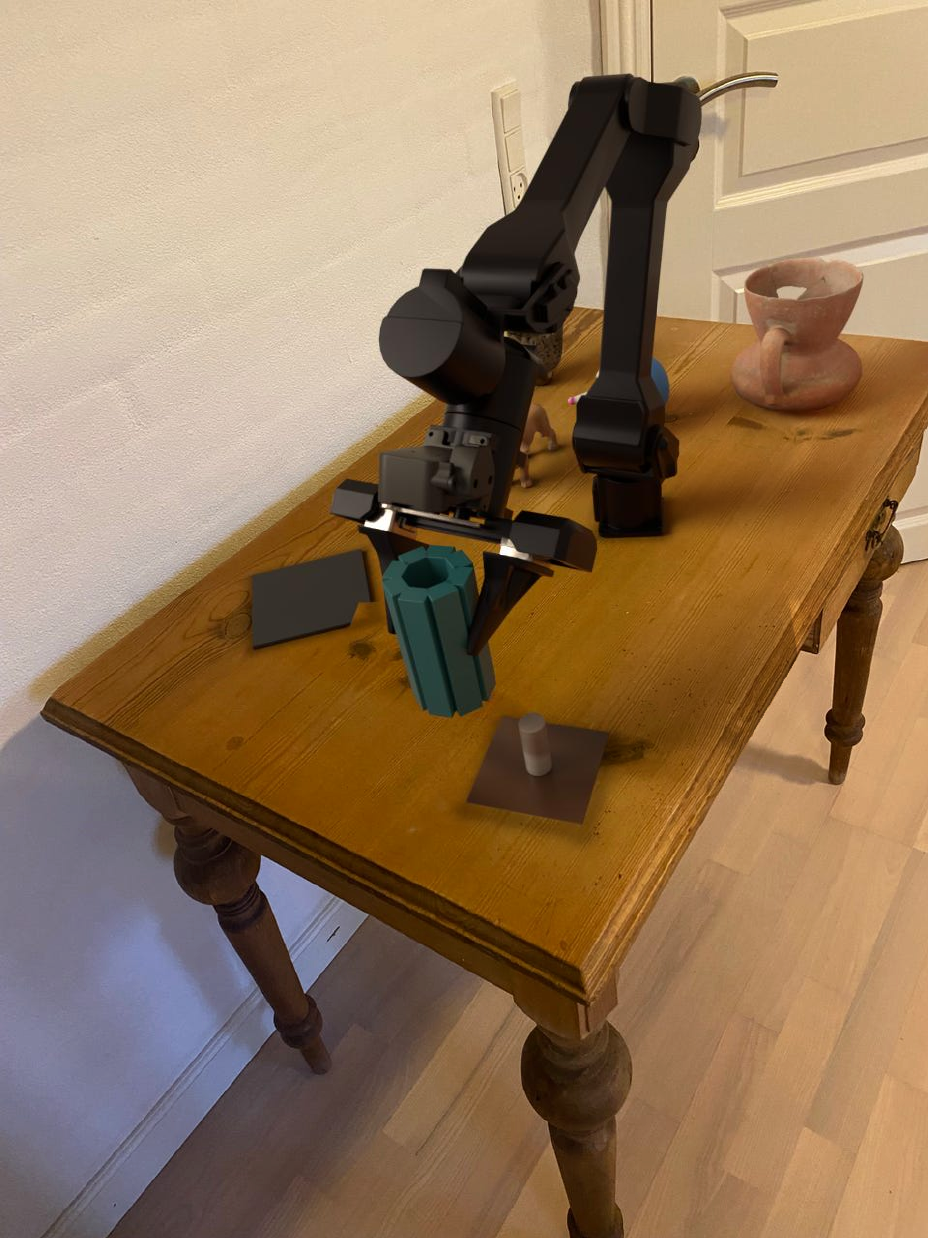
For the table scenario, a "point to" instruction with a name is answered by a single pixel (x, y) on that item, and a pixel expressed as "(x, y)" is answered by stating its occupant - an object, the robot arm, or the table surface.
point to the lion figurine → (534, 423)
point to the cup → (544, 348)
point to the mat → (307, 598)
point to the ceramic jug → (799, 336)
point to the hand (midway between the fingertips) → (431, 644)
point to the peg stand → (539, 768)
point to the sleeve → (438, 629)
